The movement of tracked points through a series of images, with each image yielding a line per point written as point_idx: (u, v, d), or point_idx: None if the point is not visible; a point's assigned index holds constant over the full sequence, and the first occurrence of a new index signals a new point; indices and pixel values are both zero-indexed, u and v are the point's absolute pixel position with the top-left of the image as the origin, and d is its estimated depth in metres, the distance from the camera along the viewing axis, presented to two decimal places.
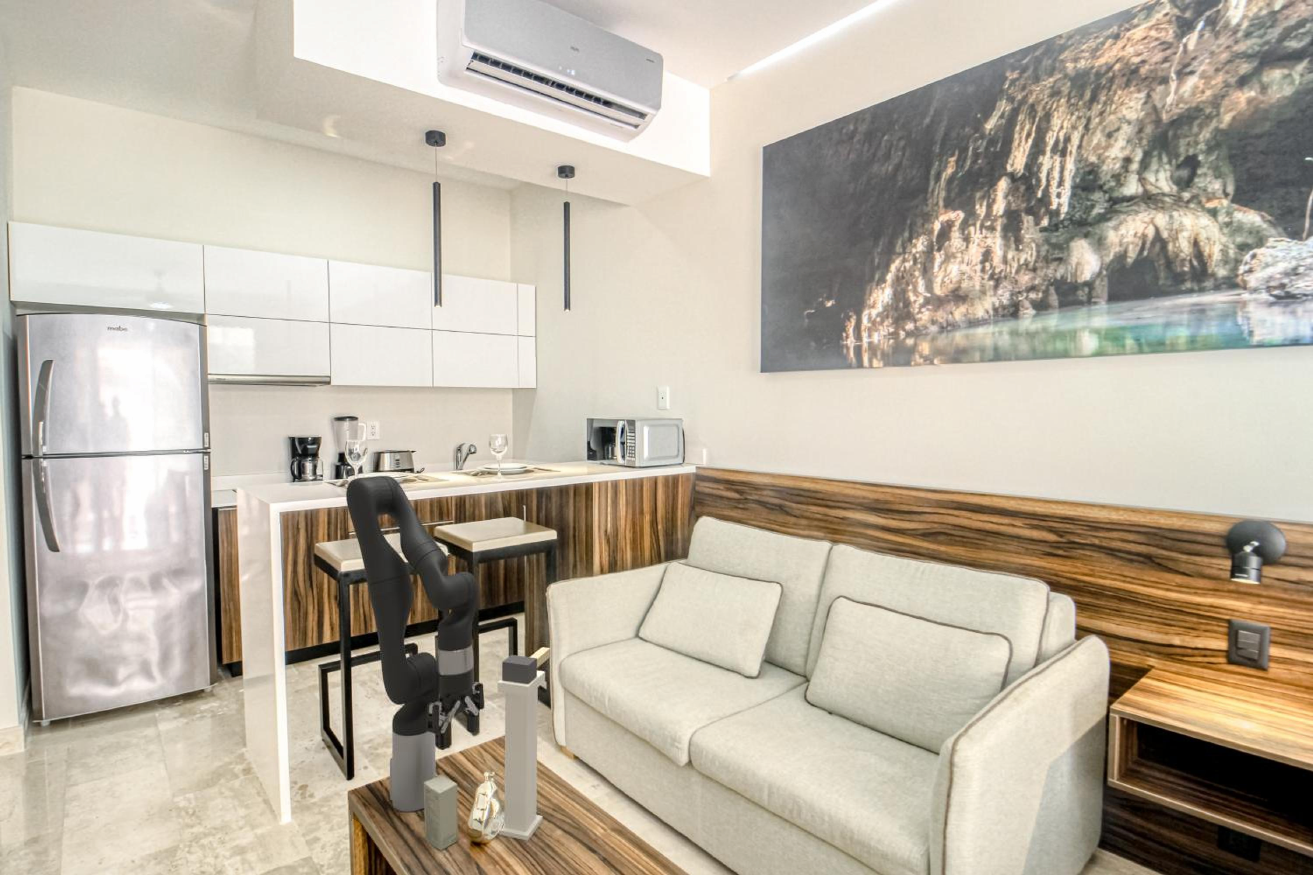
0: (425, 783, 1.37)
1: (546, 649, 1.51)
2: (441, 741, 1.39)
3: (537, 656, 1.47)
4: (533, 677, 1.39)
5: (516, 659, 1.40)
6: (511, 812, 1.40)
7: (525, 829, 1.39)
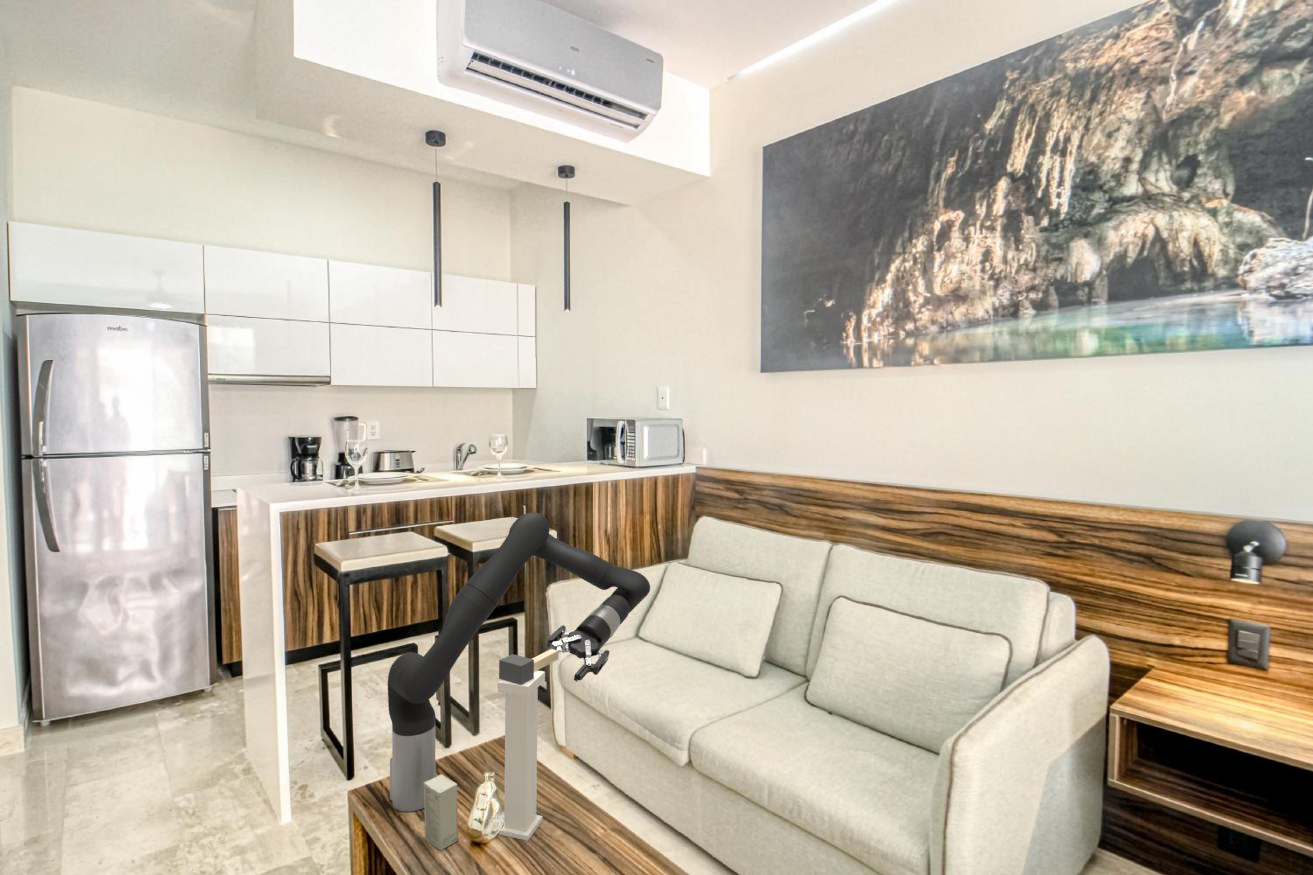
0: (425, 783, 1.37)
1: (554, 651, 1.50)
2: None
3: (541, 658, 1.46)
4: (528, 678, 1.38)
5: (513, 659, 1.40)
6: (511, 812, 1.40)
7: (525, 829, 1.39)
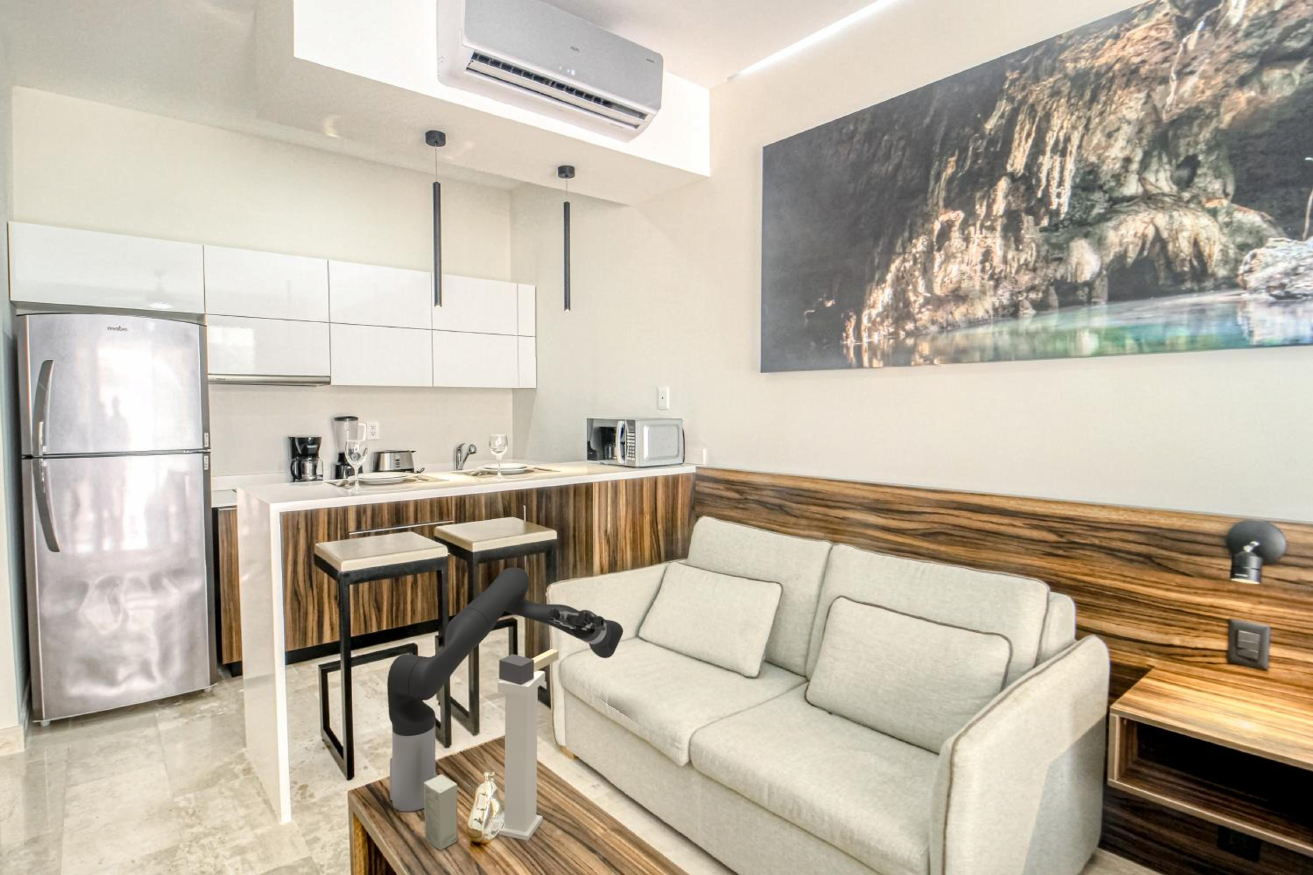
0: (425, 783, 1.37)
1: (554, 651, 1.50)
2: (588, 620, 1.63)
3: (541, 658, 1.46)
4: (528, 678, 1.38)
5: (513, 659, 1.40)
6: (511, 812, 1.40)
7: (525, 829, 1.39)
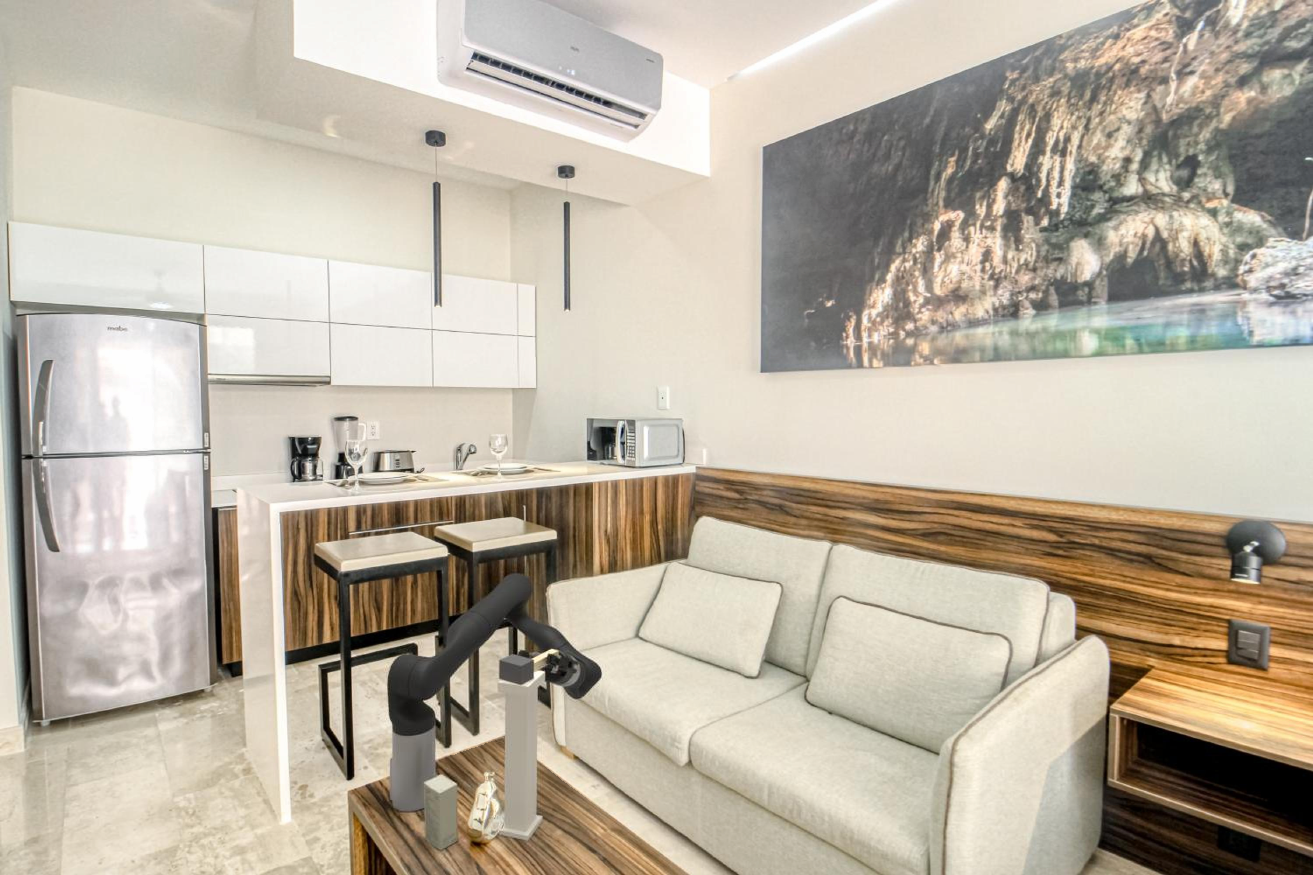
0: (425, 783, 1.37)
1: (554, 651, 1.50)
2: (553, 663, 1.46)
3: (541, 658, 1.46)
4: (528, 678, 1.38)
5: (513, 659, 1.40)
6: (511, 812, 1.40)
7: (525, 829, 1.39)
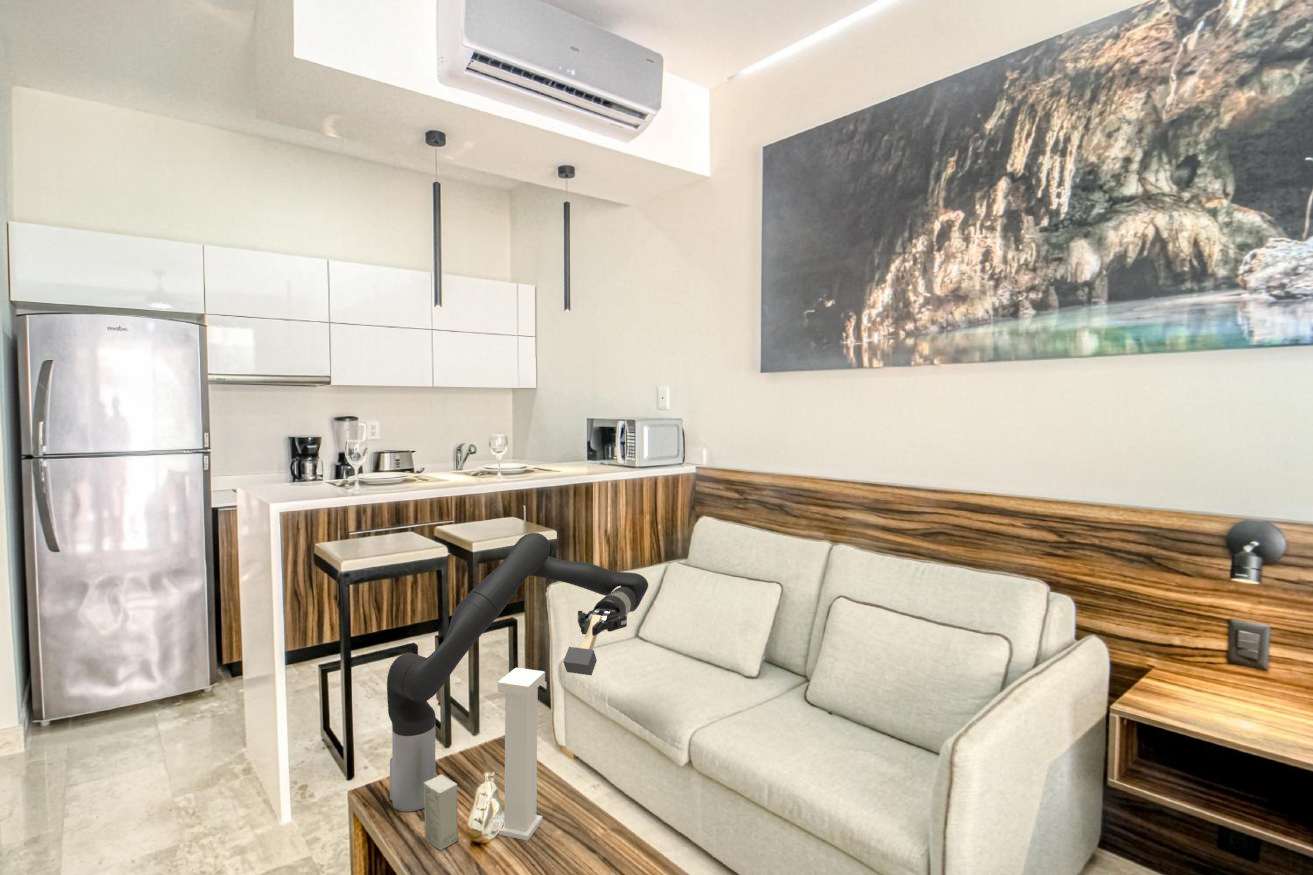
0: (425, 783, 1.37)
1: (597, 617, 1.60)
2: None
3: None
4: (594, 665, 1.52)
5: (575, 655, 1.50)
6: (511, 812, 1.40)
7: (525, 829, 1.39)
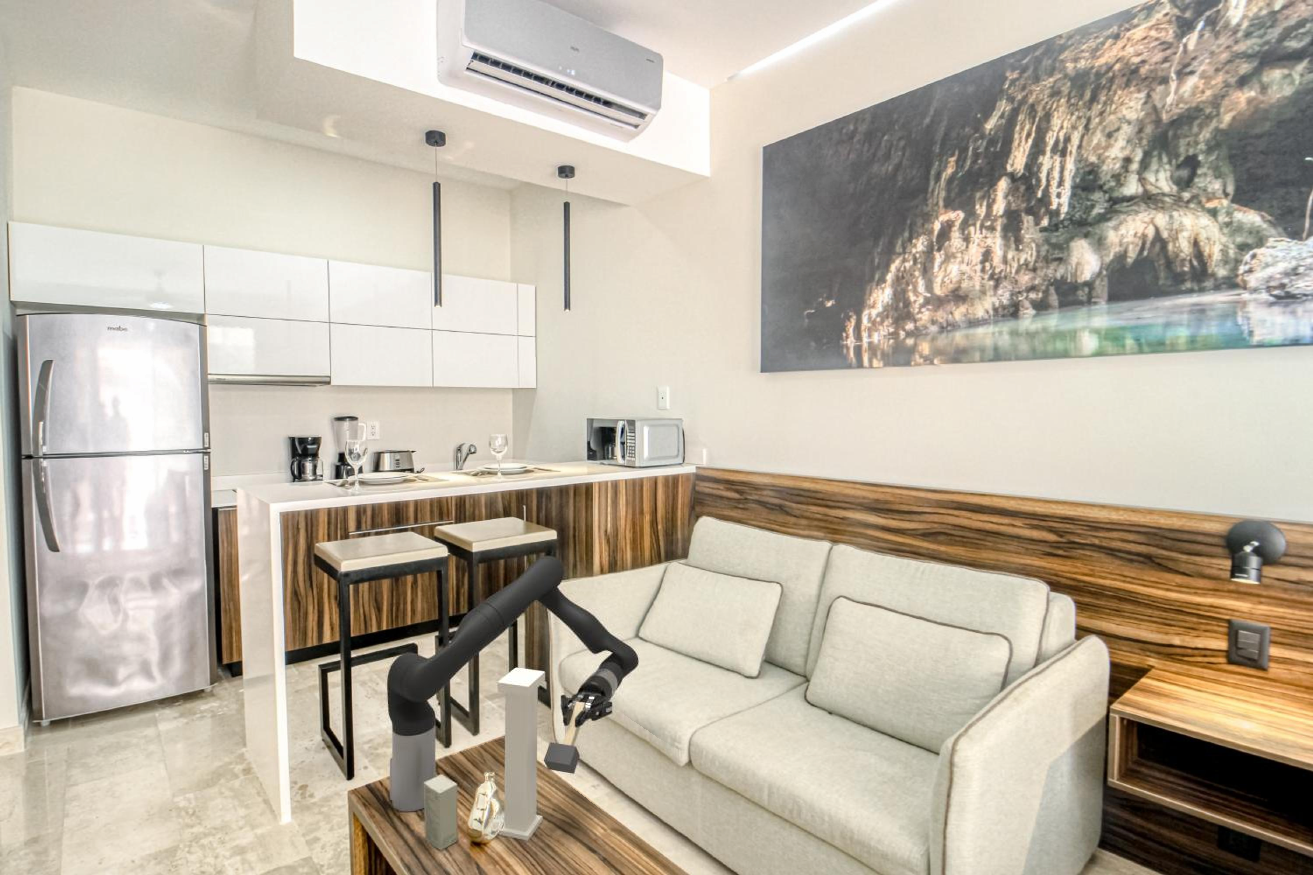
0: (425, 783, 1.37)
1: (581, 705, 1.52)
2: None
3: None
4: (577, 761, 1.43)
5: (556, 752, 1.42)
6: (511, 812, 1.40)
7: (525, 829, 1.39)
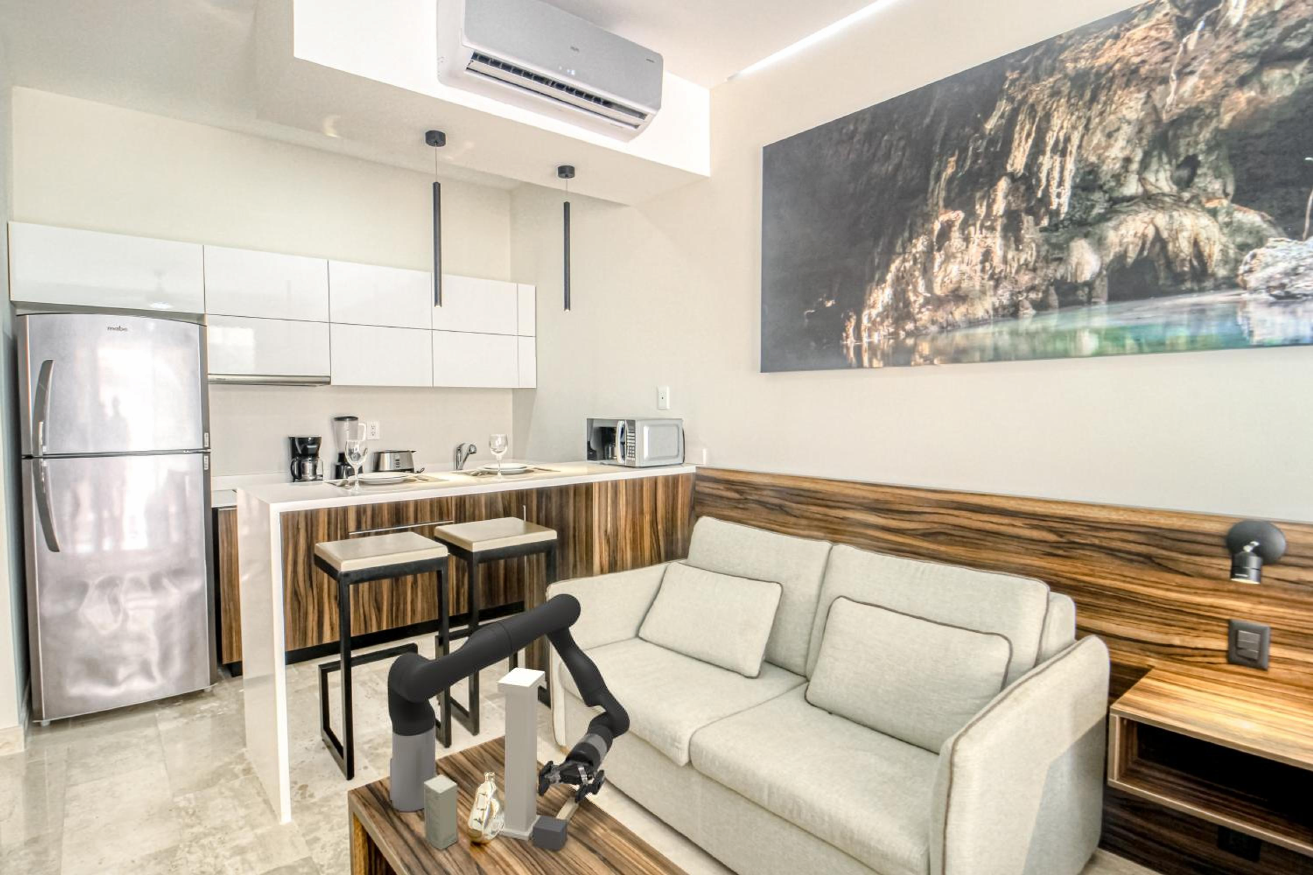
0: (425, 783, 1.37)
1: (574, 799, 1.49)
2: None
3: (567, 811, 1.45)
4: (564, 841, 1.37)
5: (546, 822, 1.38)
6: (511, 812, 1.40)
7: (525, 829, 1.39)
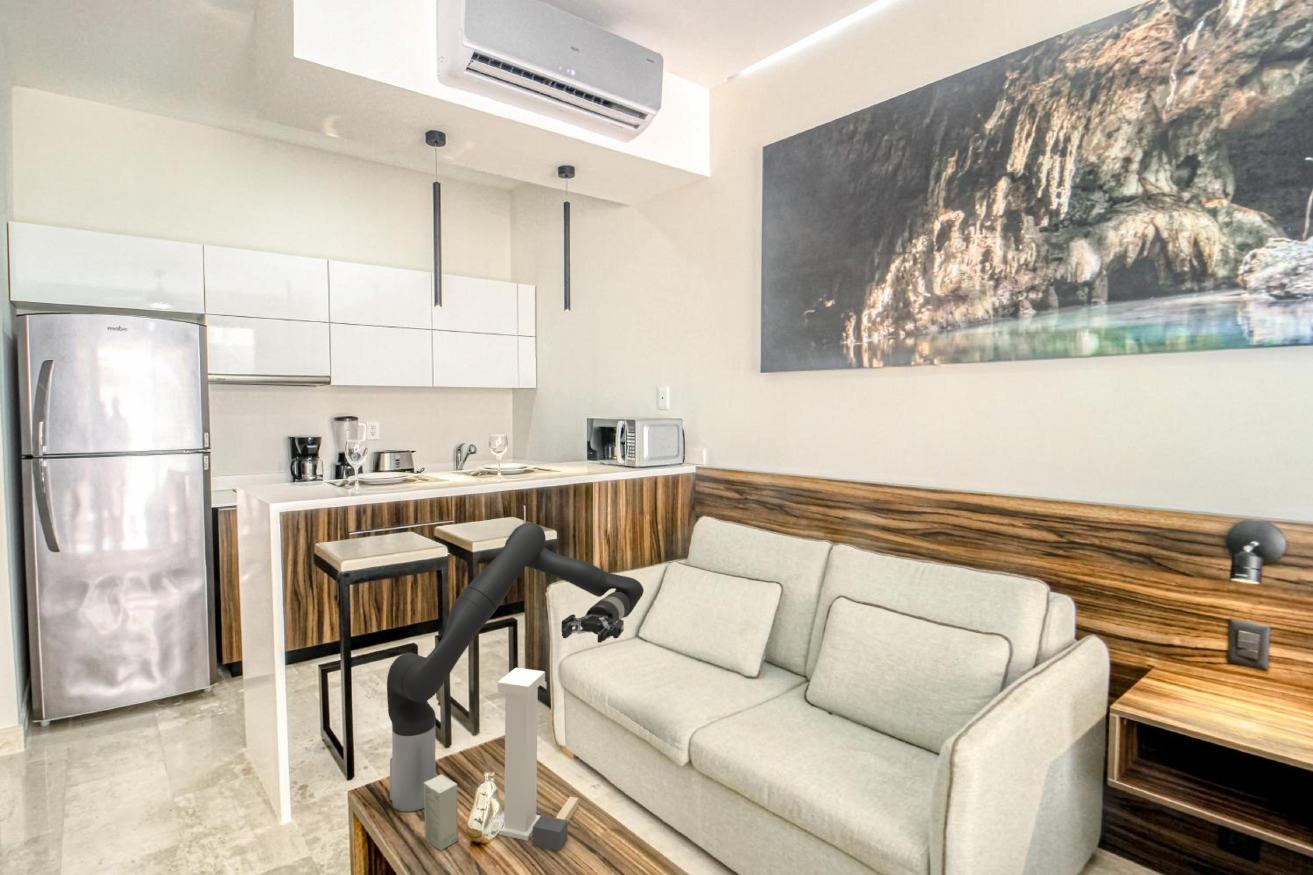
0: (425, 783, 1.37)
1: (574, 799, 1.49)
2: None
3: (567, 811, 1.45)
4: (564, 841, 1.37)
5: (546, 822, 1.38)
6: (511, 812, 1.40)
7: (525, 829, 1.39)
